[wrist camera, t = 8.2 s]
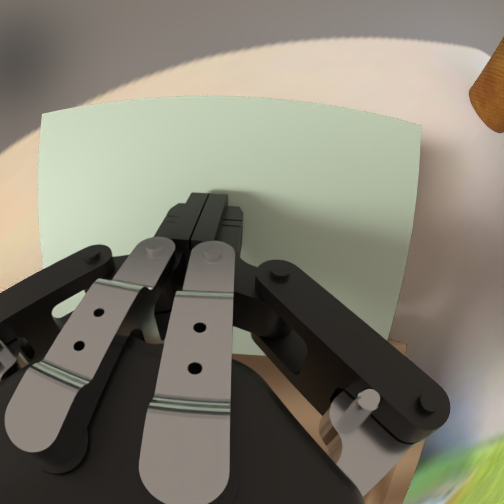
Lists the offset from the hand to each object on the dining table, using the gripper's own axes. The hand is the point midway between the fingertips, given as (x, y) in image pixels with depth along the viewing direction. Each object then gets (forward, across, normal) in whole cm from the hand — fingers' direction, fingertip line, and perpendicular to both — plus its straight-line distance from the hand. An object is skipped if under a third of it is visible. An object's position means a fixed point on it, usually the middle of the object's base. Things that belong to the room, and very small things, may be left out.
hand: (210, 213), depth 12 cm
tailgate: (-1, 0, +7) cm, 7 cm away
